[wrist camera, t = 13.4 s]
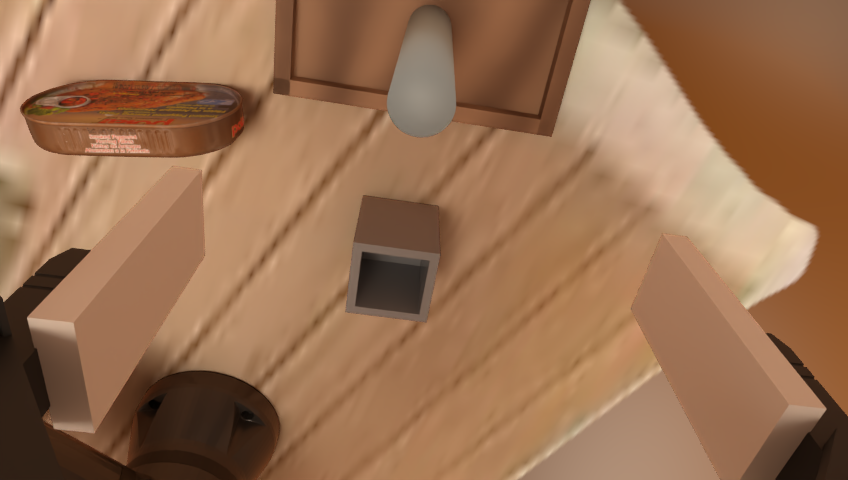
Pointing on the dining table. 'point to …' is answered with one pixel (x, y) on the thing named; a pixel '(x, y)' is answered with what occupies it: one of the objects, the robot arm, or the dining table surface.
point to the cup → (394, 259)
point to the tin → (135, 118)
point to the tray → (472, 52)
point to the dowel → (424, 75)
